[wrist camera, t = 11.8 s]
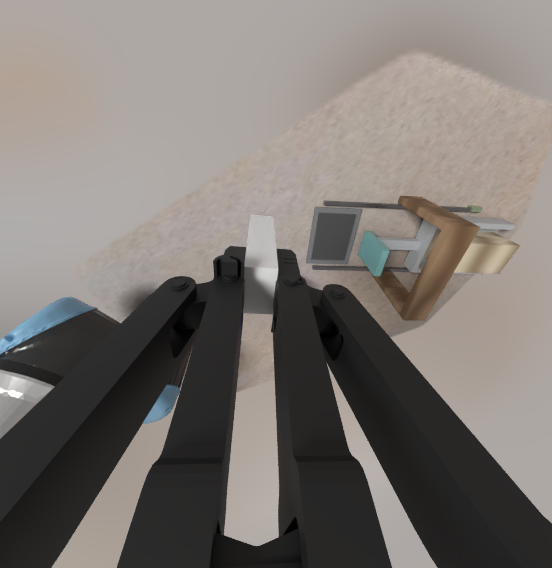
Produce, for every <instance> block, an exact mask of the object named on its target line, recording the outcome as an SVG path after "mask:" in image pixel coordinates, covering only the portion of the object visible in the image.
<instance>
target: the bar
mask: <svg viewBox="0 0 552 568" xmlns="http://www.w3.org/2000/svg"><path fill="white" fill-rule="evenodd" d="M440 232H441V230H436V232H435V234H434V236H433V238H432V240H431V242H430V244H429V247H428V249H427V251H426V253H425V255H424V258H425V259H427V258H428V256H429V254H430V252H431V250H432V248H433V246H434V244H435V242H436V240H437V238H438V236H439V234H440ZM519 246H520V245H518V244H516V243H514V242H512V241H510V240H508V239H506V238H504V237H502V236H500V235H498V234H496V233H494V232H477V234H476V236H475V237H474V239H473V241H472V242H471V244H470V246H469V248H468V249H467V251H466V253H465V254H464V256H463V258H462V259H461V261H460V263H459V264H458V266H457V268H456V269H455V271H454V273H494V274H499V273H500V272H501V271H502V270H503V268H504V267H505V266H506V264H507V263H508V261H509V260H510V259H511V257H512V256H513V255H514V253H515V252H516V250H517V249H518V248H519Z"/></svg>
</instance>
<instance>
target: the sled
mask: <svg viewBox="0 0 552 568" xmlns="http://www.w3.org/2000/svg"><path fill="white" fill-rule="evenodd" d="M462 218H464V219H466V220H468V221H470V222H472V223H473V224H475V225H477V226H479V227H480V229H479V231H478V232H494V233H496V234H497V233H498V231H499V230H500V229H501V230H514V228H515V227H516V224H513V223H511V222H509V221H506V220H504V219H496V218H474V217H462ZM436 230H441V229H439V228H437V227H436V226H434V225H433V224H431V223H430V222H428V221H426V220H425V219H423V222H422V224H421V226H420V228H419V231H418V233H417V235H416V238H415V239H410V238H383V237H376V236H375V235H374V234H373V232H372V231H365V233H364V237H363V240H362V243H361V247H360V250H359V253H358V255H359V256H360V258H361V259H362V260H363V262H364V263H365V265H366V266H367V268H368V269H369V270H370V272H371V273H372V275H373V276H380V275H381V273H382V270H383V268H384V265H385V262H386V260H387V257H388V255H389V252H390V250H410V251H409V253H408V256H407V258H406V260H405V263H404V266H405V267H406V268H407V269H408V270H409V271H410V272H411V273H420V272H421V270H422V268H423V266H424V264H425V262H426V260H427V259H425V258H424V255H425V253H426V251H427V249H428V247H429V244H430V242H431V240H432V238H433V236H434V234H435V232H436ZM453 274H483V273H453Z"/></svg>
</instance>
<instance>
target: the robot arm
mask: <svg viewBox="0 0 552 568" xmlns="http://www.w3.org/2000/svg"><path fill="white" fill-rule="evenodd" d="M213 265H214V279H213V280H212V281H210V282H206V283H201V284H196V283H195V281H194V280H193V279H192V278H190V277H185V276H179V277H173V278H171V279H168V280H167V281H165V282H164V283H163V284H162V285H161V286H160V287H159V288H158V289H157V290H156V291H155V292H154V293H153V294H151V295H150V296H149V297H148V298H147V299H146V300H145V301H144V302H143V303H142V304H141V305H140V306H139V307H138V308H137V309H136V310H135V311H134V312H133V313H132V314H131V315H129V316H128V317H127V318H126V319H125V320H124V321H123V322H122V323H119V322H118V321H116V320H114V319H113V318H111V317H109V316H107V315H106V314H104V313H102V312H101V311H99V310H97V308H96V307H91V306H89V305H88V304H86V303H84V302H81V301H80V300H78V299H76V298H72V297H65V298H61V299H59V300H56V301H54V302H53V303H51V304H49V305H48V306H46V307H45V308H43V309H42V310H40V311H39V312H37V313H36V314H34V315H33V316H31V317H30V318H28V319H27V320H26V321H24V322H23V323H21V324H20V325H19V326H18V327H16V328H15V329H14V330H12V331H11V333H9V334H7V335H6V336H5V337H4V338H2V339H1V340H0V568H51V567H52V566H53V564H54V563H55V561H56V560H57V558H58V557H59V555H60V554H61V552H62V551H63V549H64V548H65V546H66V545H67V543H68V541H69V540H70V538H71V537H72V535H73V533H74V532H75V530H76V529H77V527H78V525H79V524H80V522H81V521H82V519H83V518H84V516H85V514H86V513H87V511H88V509H89V508H90V506H91V504H92V503H93V501H94V500H95V498H96V497H97V495H98V494H99V492H100V490H101V489H102V487H103V486H104V484H105V482H106V481H107V479H108V478H109V476H110V474H111V473H112V471H113V470H114V468H115V467H116V465H117V463H118V462H119V460H120V459H121V457H122V455H123V454H124V452H125V451H126V449H127V447H128V446H129V444H130V442H131V441H132V439H133V438H134V436H135V435H136V433H137V431H138V430H139V428H140V426H141V425H142V424H147V423H151V422H155V421H158V420H160V419H162V418H164V417H165V416H167V415H168V414H169V413H170V412H171V410H172V409H173V407H174V404H175V401H176V399H177V396H178V394H179V393H180V394H179V398H178V401H177V404H176V408H175V411H174V415H173V418H172V421H171V425H170V428H169V431H168V435H167V439H166V441H165V445H164V448H163V451H162V454H161V456H160V457H159V459H158V460H157V461H156V462H155V463H154V464H153V465H152V467H151V469H150V471H149V473H148V475H147V477H146V480H145V483H144V485H143V488H142V491H141V494H140V497H139V500H138V503H137V506H136V509H135V513H134V516H133V519H132V522H131V525H130V528H129V531H128V534H127V538H126V541H125V544H124V547H123V550H122V553H121V556H120V560H119V562H118V566H117V568H392V566H391V562H390V559H389V555H388V552H387V549H386V545H385V541H384V538H383V534H382V531H381V527H380V524H379V520H378V517H377V513H376V509H375V506H374V502H373V499H372V495H371V492H370V488H369V485H368V481H367V479H366V476H365V473H364V470H363V468H362V466H361V465H360V463H359V461H358V460H357V459H355V458H354V457H353V456H352V455H351V453H350V451H349V448H348V445H347V442H346V437H345V434H344V430H343V426H342V422H341V418H340V414H339V410H338V406H337V402H336V398H335V394H334V390H333V387H332V382H331V379H330V375H329V370H328V367H327V364H328V366H329V368H330V370H331V371H332V373H333V375H334V377H335V379H336V381H337V383H338V385H339V387H340V388H341V390H342V392H343V394H344V396H345V398H346V400H347V402H348V404H349V405H350V407H351V409H352V411H353V413H354V415H355V417H356V419H357V421H358V422H359V424H360V426H361V428H362V430H363V432H364V434H365V436H366V438H367V439H368V441H369V443H370V445H371V447H372V449H373V451H374V453H375V455H376V457H377V459H378V460H379V462H380V464H381V466H382V468H383V470H384V472H385V473H386V475H387V477H388V479H389V481H390V483H391V485H392V487H393V489H394V491H395V493H396V494H397V496H398V498H399V500H400V502H401V504H402V506H403V508H404V510H405V512H406V513H407V515H408V517H409V519H410V521H411V523H412V525H413V527H414V529H415V530H416V532H417V534H418V535H419V537H420V539H421V541H422V543H423V544H424V546H425V548H426V549H427V551H428V553H429V555H430V557H431V558H432V560H433V561H434V563H435V564H436V566H437V567H438V568H552V523H551V522H549V521H548V520H547V519H546V518H545V517H544V516H543V515H542V514H541V513H540V512H539V511H538V509H537V508H536V507H535V506H534V505H533V504H532V502H531V501H530V500H529V499H528V498H527V497H526V495H525V494H524V493H523V492H522V491H521V490H520V489H519V487H518V486H517V485H516V484H515V483H514V481H513V480H512V479H511V478H510V477H509V476H508V474H507V473H506V472H505V471H504V470H503V469H502V467H501V466H500V465H499V464H498V463H497V462H496V461H495V459H494V458H493V457H492V456H491V455H490V454H489V452H488V451H487V450H486V449H485V448H484V447H483V446H482V444H481V443H480V442H479V441H478V440H477V438H476V437H475V436H474V435H473V434H472V433H471V431H470V430H469V429H468V428H467V427H466V426H465V424H464V423H463V422H462V421H461V420H460V419H459V417H458V416H457V415H456V414H455V413H454V412H453V411H452V409H451V408H450V407H449V406H448V405H447V404H446V402H445V401H444V400H443V399H442V398H441V396H440V395H439V394H438V393H437V392H436V391H435V390H434V388H433V387H432V386H431V385H430V384H429V382H428V381H427V380H426V379H425V378H424V377H423V375H422V374H421V373H420V372H419V371H418V370H417V369H416V367H415V366H414V365H413V364H412V363H411V362H410V360H409V359H408V358H407V357H406V356H405V354H404V353H403V352H402V351H401V350H400V349H399V347H398V346H397V345H396V344H395V343H394V342H393V341H392V339H391V338H390V337H389V336H388V335H387V333H386V332H385V331H384V330H383V329H382V328H381V326H380V325H379V324H378V323H377V322H376V321H375V319H374V318H373V317H372V316H371V315H370V314H369V312H368V311H367V310H366V309H365V308H364V307H363V305H362V304H361V303H360V302H359V301H358V300H357V299H356V297H355V296H354V295H353V294H352V293H351V292H350V291H349V290H348V289H347V288H345V287H343V286H341V285H337V284H329V285H326V286H325V287H324V288H323V291H322V290H318V289H315V288H312V287H309V286H307V284H306V281H305V279H304V278H302V277H301V276H300V271H299V267H298V263H297V259H296V254H295V253H294V252H293V251H292V250H286V249H276V240H275V230H274V220H273V216H262V215H251V216H250V224H249V232H248V240H247V247H235V246H230V247H228V248H227V249H226V250H225V253H224V255H221V256H218V257H216V258H215V259H214V261H213ZM243 313H255V314H273V321H272V329H271V332H273V347H274V371H275V395H276V417H277V418H276V419H277V441H278V466H279V506H278V507H279V508H278V523H279V538H276V539H274V540H272V541H270V542H268V543H265V544H263V545H261V546H252V545H250V544H247V543H244V542H241V541H238V540H235V539H232V538H229V537H227V536H224V526H225V514H226V498H227V483H228V474H229V463H230V452H231V442H232V431H233V420H234V410H235V399H236V389H237V378H238V367H239V357H240V346H241V335H242V325H243ZM192 349H193V350H192ZM191 350H192V354H191V357H190V360H189V364H188V367H187V371H186V374H185V377H184V381H183V384H182V387H181V383H182V380H183V376H184V373H185V369H186V366H187V363H188V359H189V356H190V352H191ZM326 362H327V363H326ZM180 387H181V391H180Z"/></svg>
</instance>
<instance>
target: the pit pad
mask: <svg viewBox="0 0 552 568" xmlns="http://www.w3.org/2000/svg"><path fill="white" fill-rule="evenodd" d="M361 212H362V209H351V208H329V207H315V210H314V216H313V222H312V229H311V235H310V242H309V248H308V254H307V261H306V263H318V264H347V263H348V259H349V256H350V252H351V248H352V245H353V241H354V237H355V234H356V230H357V227H358V223H359V219H360V216H361Z"/></svg>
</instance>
